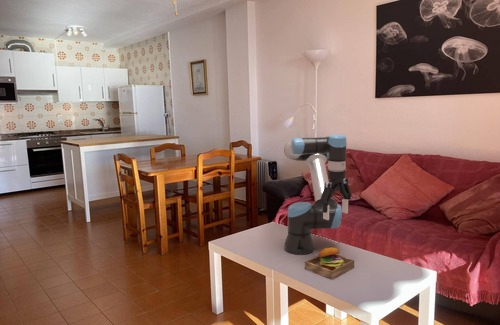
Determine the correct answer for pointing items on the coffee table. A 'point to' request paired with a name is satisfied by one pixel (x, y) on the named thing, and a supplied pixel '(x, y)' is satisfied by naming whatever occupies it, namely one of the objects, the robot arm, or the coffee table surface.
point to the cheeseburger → (330, 258)
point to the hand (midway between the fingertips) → (335, 216)
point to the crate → (317, 268)
